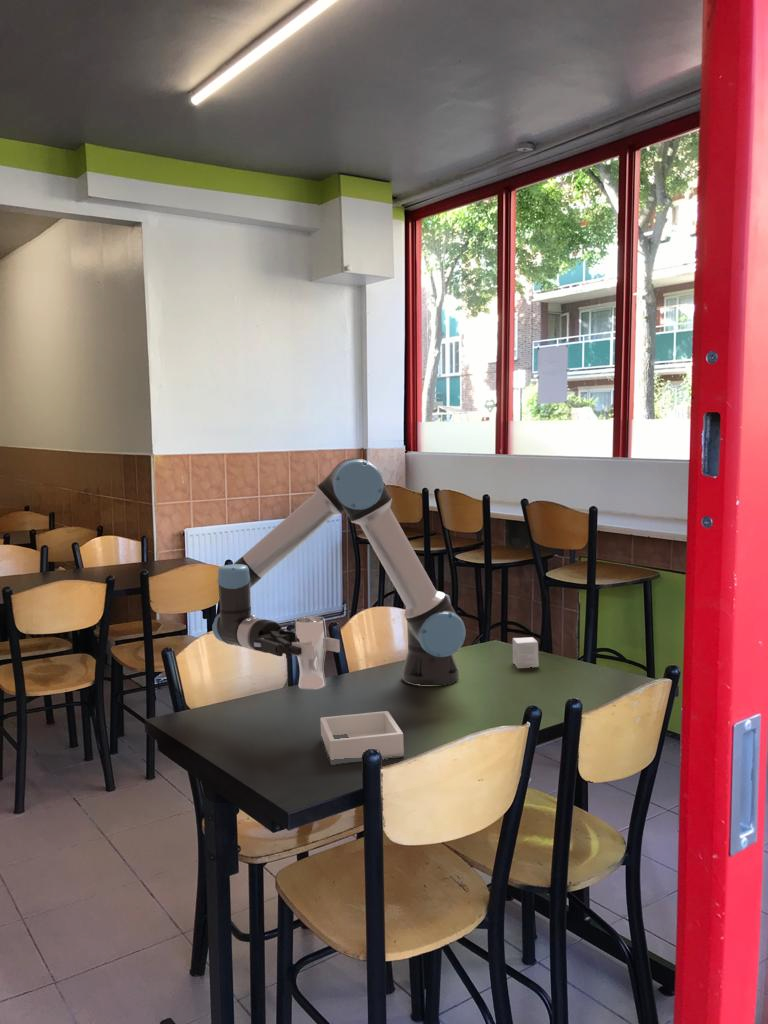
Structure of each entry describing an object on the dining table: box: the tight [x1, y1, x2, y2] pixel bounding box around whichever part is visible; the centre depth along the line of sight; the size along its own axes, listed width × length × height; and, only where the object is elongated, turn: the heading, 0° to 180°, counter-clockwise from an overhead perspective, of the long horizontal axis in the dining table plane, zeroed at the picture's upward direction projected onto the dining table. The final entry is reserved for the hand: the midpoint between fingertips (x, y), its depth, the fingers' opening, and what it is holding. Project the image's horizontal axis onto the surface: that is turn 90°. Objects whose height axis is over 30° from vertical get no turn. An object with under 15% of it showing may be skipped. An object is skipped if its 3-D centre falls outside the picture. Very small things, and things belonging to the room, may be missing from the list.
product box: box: [512, 636, 540, 669], centre depth 238 cm, size 6×6×7 cm
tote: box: [319, 710, 405, 761], centre depth 178 cm, size 15×15×5 cm
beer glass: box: [294, 615, 327, 691], centre depth 187 cm, size 7×7×15 cm
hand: (325, 649), depth 184 cm, fingers closed on beer glass, 7 cm apart
